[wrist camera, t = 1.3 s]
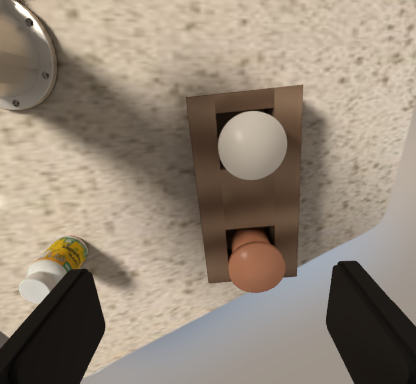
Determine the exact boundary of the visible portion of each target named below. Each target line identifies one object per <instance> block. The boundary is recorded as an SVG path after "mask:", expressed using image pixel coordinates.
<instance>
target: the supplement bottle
mask: <svg viewBox="0 0 416 384" xmlns="http://www.w3.org/2000/svg"><path fill="white" fill-rule="evenodd" d="M87 256H88V248H87V246H86V244H85V243H84V242H83V241H82V240H81V239H79V238H77V237H74V236H63V237H61V238H59V239H58V240H57V241H56V242H55V243H53V244H52V245H51V246H50V247H49V248H48V249H47V250H46V251H45V252H44V253H43V254H42V255H41V256H40V257H39V258H38V259H37V260H36V261H35V262H34V263H33V264H32V265H31V266H30V267H29V269H28V271H27V277H26V278H25V279H24V280H23V281H22V282H21V283H20V285H19V292H20V294H21V296H22V297H23V298H24V299H26V300H27V301H29V302H32V303H36V304H40V303H41V302H42V301H43V299H44V298H45V297H46V296H47V295H48V294H49V293H50V291H51V290H52V289H53V288H54V287H55V286H56V285H57V283H58V282H59V281H60V280H61V279H62V278H63V277H64V275H65V274H66V273H67V272H68V271H69V270H71V269H79V268H80V266H81V265H82V264H83V262H84V261H85V259H86V258H87Z"/></svg>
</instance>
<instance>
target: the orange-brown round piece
mask: <svg viewBox="0 0 416 384" xmlns="http://www.w3.org/2000/svg"><path fill="white" fill-rule="evenodd" d="M231 249H232V254H231V256H230V258H229V262H228V270H229V276H230V279H231V281H232V282H233V284H234V285H235V286H237V287H238V288H239V289H241V290H244V291H247V292H252V293H253V292H254V293H258V292H264V291H267V290H270V289H272V288H273V287H275V286H276V285H277V284H278V283H279V282H280V281H281V280H282V278H283V276H284V274H285V262H284V259H283V257H282V255H281V253H280V251H279V250H278V249H277V248H276V247H275V246H273V245H271V244H270V242H269V240H268V238H267V235H266V233H265V232H264V231H263V230H262V229H261V228H259V227H252V228H241V229H237V230H236V231H235V232H234V234H233V235H232V237H231Z"/></svg>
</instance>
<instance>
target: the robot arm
mask: <svg viewBox="0 0 416 384" xmlns="http://www.w3.org/2000/svg"><path fill="white" fill-rule="evenodd" d="M48 74H49V77H48ZM56 76H57V59H56V54H55V49H54V46H53V44H52V41H51V38H50V36H49V35H48V33H47V31H46V29H45V27H44V26H43V25H42V23H41V22H40V21H39V19H38V18H37V17H36V16H35V15H34V14H33V13H32V12H31V11H30V10H29V9H28V8H26V7H25V6H24V5H22V4H21V3H19V2H18V1H16V0H0V108H2V109H7V110H24V109H29V108H32V107H35V106H37V105H38V104H40V103H42V102H43V101H44V100H45V99H46V98H47V97H48V96H49V94H50V93H51V91H52V89H53V87H54V84H55V82H56ZM326 324H327V329H328V331H329V333H330V335H331V337H332V339H333V341H334V343H335V345H336V347H337V349H338V351H339V353H340V355H341V357H342V359H343V361H344V364H345V366H346V368H347V370H348V372H349V374H350V376H351V378H352V380H353V382H354V384H416V326H415V325H414V324H413V323H412V322H411V321H410V320H409V319H408V317H407V316H406V315H405V314H404V313H403V312H402V311H401V310H400V308H399V307H398V306H397V305H396V304H395V303H394V302H393V301H392V300H391V299H390V298H389V297H388V296H387V295H386V294H385V292H384V291H383V290H382V289H381V288H380V287H379V286H378V284H377V283H376V282H375V281H374V280H373V279H372V278H371V276H370V275H369V274H368V273H367V272H366V271H365V270H364V269H363V268H362V266H361V265H360V264H359V263H358V262H357V261H339V262H338V264H337V265H335V266H334V267H333V271H332V279H331V286H330V293H329V300H328V308H327V315H326ZM104 332H105V321H104V317H103V313H102V309H101V305H100V302H99V298H98V294H97V290H96V286H95V283H94V279H93V275H92V273H90V272H88V270H87V269H71V270H69V271H68V272H67V273H66V274H65V275H64V277H63V278H62V279H61V280H60V281H59V282H58V283H57V285H56V286H55V287H54V288H53V289H52V290H51V291H50V293H49V294H48V295H47V296H46V297H45V298H44V299H43V301H42V302H41V303H40V304H39V305H38V306H37V307H36V309H35V310H34V311H33V312H32V313H31V314H30V315H29V317H28V318H27V319H26V320H25V321H24V322H23V323H22V325H21V326H20V327H19V328H18V329H17V330H16V331H15V333H14V334H13V335H12V336H11V337H10V338H9V340H8V341H7V342H6V343H5V344H4V345H3V346H2V347H1V349H0V384H80V382H81V380H82V378H83V376H84V374H85V372H86V370H87V367H88V365H89V363H90V361H91V359H92V357H93V355H94V353H95V351H96V349H97V347H98V345H99V343H100V341H101V339H102V337H103V334H104Z"/></svg>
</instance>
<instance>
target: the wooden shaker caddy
mask: <svg viewBox="0 0 416 384" xmlns="http://www.w3.org/2000/svg"><path fill="white" fill-rule="evenodd" d="M186 102H187V110H188V118H189V127H190V135H191V143H192V151H193V159H194V167H195V175H196V184H197V192H198V200H199V208H200V216H201V224H202V233H203V241H204V249H205V257H206V265H207V273H208V282H209V283H218V282H231V279H230V276H229V270H228V262H229V258H230V256H231V254H232V249H231V237H232V235H233V234H234V232H235V231H236V230H237V229H241V228H252V227H259V228H261V229H262V230H263V231H264V232H265V233H266V235H267V238H268V240H269V242H270V244H271V245H273V246H275V247H276V248H277V249H278V250H279V251H280V253H281V255H282V257H283V259H284V262H285V274H284V276H283V277H295V276H297V253H298V224H299V194H300V164H301V134H302V104H303V85H297V86H287V87H278V88H269V89H259V90H250V91H241V92H231V93H222V94H213V95H203V96H194V97H186ZM247 111H259V112H263V113H266V114H269V115H271V116H272V117H274V118H275V119H276V120H278V122H279V123H280V124H281V125H282V127H283V129H284V131H285V133H286V137H287V150H286V154H285V157H284V159H283V161H282V163H281V164H280V166H279V167H278V168H277V169H276V170H275V171H274V172H273V173H271V174H270V175H268V176H266V177H264V178H261V179H257V180H244V179H240V178H238V177H236V176H234V175H232V174H231V173H230V172H228V171H227V170H226V168H225V167H224V166H223V164H222V162H221V160H220V156H219V151H218V140H219V136H220V133H221V131H222V129H223V127H224V126H225V125H226V123H227V122H228V121H229V120H230V119H232V118H233V117H235V116H236V115H238V114H240V113H243V112H247Z"/></svg>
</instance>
